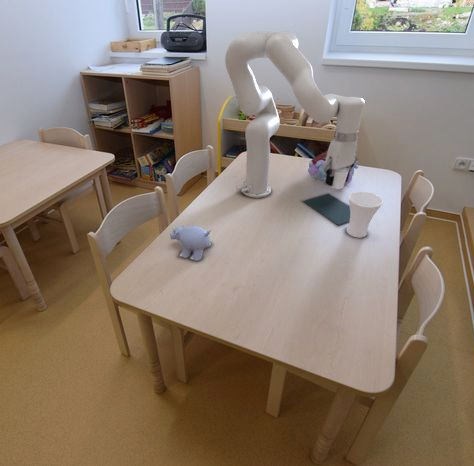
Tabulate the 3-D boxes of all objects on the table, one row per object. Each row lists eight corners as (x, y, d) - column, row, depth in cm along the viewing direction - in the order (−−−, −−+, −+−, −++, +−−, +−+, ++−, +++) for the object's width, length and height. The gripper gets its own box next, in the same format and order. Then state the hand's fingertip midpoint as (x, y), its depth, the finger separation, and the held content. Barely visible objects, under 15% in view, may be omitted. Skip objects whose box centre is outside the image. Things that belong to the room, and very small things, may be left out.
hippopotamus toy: (180, 235, 119) (177, 213, 114) (218, 244, 114) (217, 221, 108) (165, 253, 111) (161, 229, 106) (205, 263, 106) (203, 240, 100)
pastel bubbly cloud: (334, 186, 134) (356, 145, 130) (292, 168, 148) (311, 130, 143) (351, 195, 149) (372, 158, 145) (312, 178, 163) (330, 143, 158)
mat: (338, 225, 120) (338, 224, 120) (303, 201, 135) (303, 200, 135) (364, 216, 124) (365, 215, 124) (328, 194, 139) (328, 193, 139)
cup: (373, 227, 118) (383, 194, 110) (371, 244, 110) (382, 209, 103) (342, 221, 122) (350, 189, 114) (339, 237, 114) (347, 203, 106)
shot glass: (345, 182, 126) (349, 165, 122) (345, 190, 121) (349, 172, 117) (326, 180, 128) (329, 163, 124) (325, 188, 123) (329, 171, 119)
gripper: (356, 128, 119) (346, 173, 129) (318, 137, 114) (311, 183, 124) (373, 134, 113) (361, 181, 124) (333, 143, 108) (324, 191, 118)
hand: (336, 182), depth 124 cm, fingers closed on shot glass, 6 cm apart
